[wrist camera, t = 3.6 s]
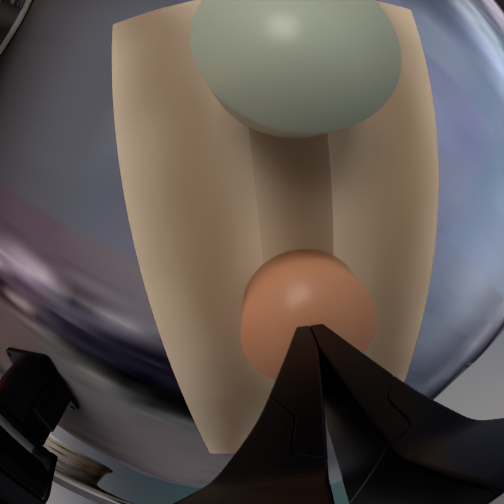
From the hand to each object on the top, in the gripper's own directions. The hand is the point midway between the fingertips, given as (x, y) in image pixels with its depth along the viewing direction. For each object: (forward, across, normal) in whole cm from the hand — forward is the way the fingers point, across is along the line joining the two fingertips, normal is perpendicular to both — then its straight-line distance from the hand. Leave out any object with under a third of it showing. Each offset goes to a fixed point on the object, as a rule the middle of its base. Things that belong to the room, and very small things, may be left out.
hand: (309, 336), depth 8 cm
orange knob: (+5, 0, 0) cm, 5 cm away
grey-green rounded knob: (+3, 0, -8) cm, 9 cm away
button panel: (+5, 0, 0) cm, 5 cm away
